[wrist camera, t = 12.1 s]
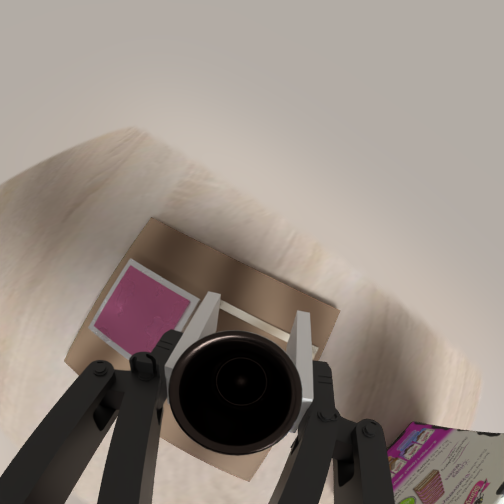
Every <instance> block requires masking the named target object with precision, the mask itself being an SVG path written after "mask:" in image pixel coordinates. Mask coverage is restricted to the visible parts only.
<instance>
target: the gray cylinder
mask: <svg viewBox="0 0 504 504" xmlns="http://www.w3.org/2000/svg"><path fill="white" fill-rule="evenodd" d="M168 397H169V404H170V408H171V411H172V414H173V416H174V418H175V420H176V422H177V424H178V425H179V427H180V428H181V429H182V431H183V432H184V433H185V434H186V435H187V436H188V437H189V438H190V439H191V440H193V441H194V442H195V443H197V444H198V445H200V446H202V447H203V448H205V449H207V450H210V451H212V452H216V453H219V454H223V455H231V456H242V455H250V454H255V453H258V452H261V451H263V450H266V449H268V448H270V447H272V446H273V445H275V444H276V443H278V442H279V441H280V440H282V439H283V438H284V437H285V436H286V435H287V434H288V432H289V431H290V430H291V429H292V427H293V426H294V424H295V422H296V420H297V418H298V416H299V413H300V410H301V406H302V399H303V389H302V382H301V378H300V375H299V372H298V370H297V368H296V366H295V364H294V362H293V361H292V359H291V358H290V357H289V355H288V354H287V353H286V352H285V351H284V350H283V349H282V348H281V347H280V346H278V345H277V344H276V343H274V342H273V341H271V340H269V339H268V338H266V337H263V336H261V335H259V334H256V333H252V332H248V331H240V330H228V331H220V332H216V333H213V334H210V335H207V336H205V337H203V338H201V339H199V340H197V341H196V342H194V343H193V344H192V345H190V346H189V347H188V348H187V349H186V350H185V351H184V352H183V353H182V354H181V356H180V357H179V358H178V360H177V362H176V363H175V365H174V367H173V370H172V372H171V375H170V379H169V386H168Z"/></svg>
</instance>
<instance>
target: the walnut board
mask: <svg viewBox="0 0 504 504" xmlns="http://www.w3.org/2000/svg"><path fill="white" fill-rule="evenodd" d="M130 258H131V259H133V260H134V261H136V262H138V263H139V264H141V265H142V266H144V267H146V268H147V269H149V270H151V271H152V272H154V273H156V274H157V275H159V276H161V277H162V278H164V279H166V280H167V281H169V282H171V283H173V284H174V285H176V286H178V287H180V288H181V289H183V290H185V291H187V292H188V293H190V294H192V295H194V296H195V297H197V298H199V299H200V300H201V301H203V300H204V298H205V296H206V295H207V293H208V291H209V292H214V293H218V294H221V297H220V305H219V313H218V321H217V330H216V332H220V331H228V330H240V331H248V332H252V333H256V334H259V335H261V336H263V337H266V338H268V339H269V340H271V341H273V342H274V343H276V344H277V345H278V346H280V347H281V348H282V349H283V350H284V351H285V352H286V348H287V343H288V340H289V336H290V333H291V330H292V327H293V323H294V320H295V317H296V313H297V310H298V311H303V312H309V313H310V323H311V341H312V360H315V361H318V360H319V358H320V356H321V354H322V352H323V350H324V347H325V345H326V343H327V341H328V338H329V336H330V334H331V332H332V329H333V327H334V325H335V322H336V320H337V317H338V315H339V313H340V310H338V309H336V308H334V307H332V306H330V305H328V304H325V303H323V302H321V301H319V300H317V299H315V298H313V297H311V296H309V295H307V294H305V293H303V292H300V291H298V290H296V289H294V288H292V287H290V286H288V285H286V284H284V283H282V282H280V281H278V280H276V279H274V278H272V277H270V276H268V275H265V274H263V273H261V272H259V271H257V270H255V269H253V268H251V267H249V266H247V265H245V264H243V263H241V262H239V261H237V260H235V259H233V258H231V257H229V256H227V255H225V254H223V253H221V252H219V251H217V250H215V249H213V248H211V247H209V246H207V245H205V244H203V243H201V242H199V241H197V240H195V239H193V238H191V237H189V236H187V235H185V234H183V233H181V232H179V231H177V230H175V229H173V228H171V227H169V226H167V225H165V224H163V223H161V222H159V221H157V220H156V219H154V218H152V217H151V219H150V220H149V221H148V223H147V224H146V226H145V227H144V228H143V230H142V231H141V233H140V234H139V235H138V237H137V238H136V240H135V241H134V243H133V244H132V246H131V247H130V249H129V250H128V251H127V253H126V254H125V256H124V257H123V259H122V260H121V262H120V264H119V265H118V267H117V268H116V270H115V271H114V273H113V274H112V276H111V278H110V279H109V281H108V282H107V284H106V286H105V287H104V289H103V291H102V292H101V294H100V296H99V297H98V299H97V301H96V302H95V304H94V306H93V307H92V309H91V311H90V313H89V314H88V316H87V318H86V320H85V322H84V323H83V325H82V327H81V329H80V331H79V333H78V334H77V336H76V338H75V340H74V342H73V344H72V346H71V348H70V350H69V352H68V354H67V356H66V358H65V360H64V362H65V363H66V364H67V365H68V366H70V367H71V368H72V369H73V370H74V371H75V372H76V373H77V374H78V375H80V374H81V373H82V372H83V371H84V370H85V368H86V367H87V366H88V365H89V364H90V363H91V362H93V361H96V360H105V361H108V362H110V363H111V364H112V365H113V367H114V369H117V370H127V371H130V370H131V369H130V363H129V360H128V359H126V358H125V357H124V356H122V355H121V354H120V353H118V352H117V351H116V350H114V349H113V348H112V347H111V346H109V345H108V344H107V343H106V342H104V341H103V340H102V339H101V338H99V337H98V336H97V335H96V334H95V333H93V332H92V331H91V330H90V329H89V328H88V327H89V325H90V324H91V322H92V320H93V318H94V316H95V315H96V313H97V311H98V309H99V308H100V306H101V304H102V303H103V301H104V299H105V298H106V296H107V294H108V293H109V291H110V289H111V288H112V286H113V284H114V283H115V281H116V280H117V278H118V277H119V275H120V273H121V272H122V270H123V269H124V267H125V266H126V264H127V263H128V261H129V259H130ZM216 332H215V333H216ZM163 409H164V412H163V418H162V424H161V431H160V437H161V438H163V439H164V440H166V441H167V442H169V443H171V444H173V445H174V446H176V447H178V448H179V449H181V450H183V451H185V452H187V453H188V454H190V455H192V456H194V457H196V458H198V459H200V460H202V461H204V462H206V463H208V464H210V465H212V466H214V467H216V468H218V469H220V470H222V471H225V472H227V473H229V474H231V475H234V476H236V477H239V478H241V479H243V480H246V481H248V482H249V481H250V480H251V479H252V477H253V476H254V474H255V473H256V471H257V470H258V468H259V467H260V465H261V463H262V462H263V460H264V459H265V457H266V456H267V454H268V452H269V451H270V449H271V448H272V447H270V448H268V449H266V450H263V451H261V452H258V453H255V454H250V455H242V456H231V455H223V454H219V453H216V452H212V451H210V450H207V449H205V448H203V447H202V446H200V445H198V444H197V443H195V442H194V441H193V440H191V439H190V438H189V437H188V436H187V435H186V434H185V433H184V432H183V431H182V429H181V428H180V427H179V425H178V424H177V422H176V420H175V418H174V416H173V414H172V411H171V408H170V405H169V404H167V398H166V400H165V402H164V404H163Z"/></svg>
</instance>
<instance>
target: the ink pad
mask: <svg viewBox="0 0 504 504" xmlns="http://www.w3.org/2000/svg"><path fill="white" fill-rule="evenodd" d="M201 303H202V301H201V300H200V299H199V298H197V297H195V296H194V295H192V294H190V293H188V292H187V291H185V290H183V289H181V288H180V287H178V286H176V285H174V284H173V283H171V282H169V281H167V280H166V279H164V278H162V277H161V276H159V275H157V274H156V273H154V272H152V271H151V270H149V269H147V268H146V267H144V266H142V265H141V264H139V263H138V262H136V261H134V260H133V259H131V258H130V259H129V261H128V263H127V264H126V266H125V267H124V269H123V270H122V272H121V273H120V275H119V277H118V278H117V280H116V281H115V283H114V284H113V286H112V288H111V289H110V291H109V293H108V294H107V296H106V298H105V299H104V301H103V303H102V304H101V306H100V308H99V309H98V311H97V313H96V315H95V316H94V318H93V320H92V322H91V324H90V325H89V327H88V328H89V329H90V330H91V331H92V332H93V333H95V334H96V335H97V336H98V337H99V338H101V339H102V340H103V341H104V342H106V343H107V344H108V345H109V346H111V347H112V348H113V349H114V350H116V351H117V352H118V353H120V354H121V355H122V356H124V357H125V358H126V359H128V360H129V358H130V357H131V356H132V355H133V354H135V353H137V352H150V353H151V352H152V350H153V349H154V347H155V346H156V344H157V343H158V341H159V340H160V338H161V337H162V335H163V334H164V333H165V332H167V331H169V330H170V329H173V330H176V331H180V332H183V333H184V332H185V330H186V328H187V327H188V325H189V323H190V321H191V320H192V318H193V316H194V315H195V313H196V311H197V310H198V308H199V306H200V305H201Z"/></svg>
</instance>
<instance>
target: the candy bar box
mask: <svg viewBox="0 0 504 504" xmlns="http://www.w3.org/2000/svg"><path fill="white" fill-rule="evenodd" d="M387 454H388V460H389V466H390V472H391V478H392V485H393V492H394V500H395V504H504V433H489V432H477V431H469V430H460V429H453V428H447V427H440V426H435V425H430V424H425V423H420V422H414V421H413V422H412V423H411V424H410V425H409V426H408V427H407V429H406V430H405V431H404V432H403V433H402V434H401V435H400V436H399V438H398V439H397V440H396V441H395V442H394V443H393V444H392V445H391V446H390V447H389V448H388V449H387Z"/></svg>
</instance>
